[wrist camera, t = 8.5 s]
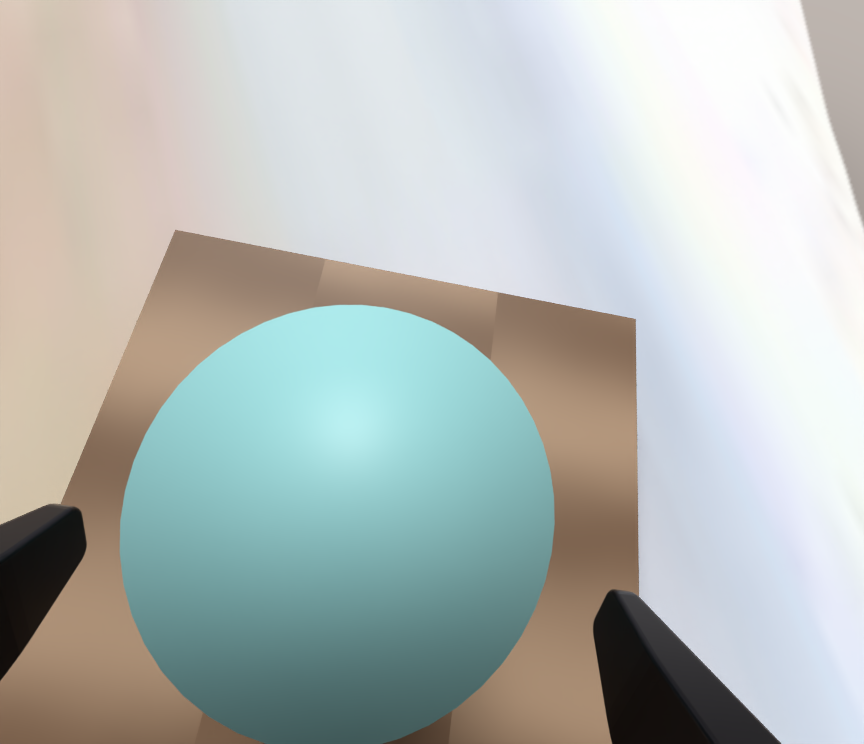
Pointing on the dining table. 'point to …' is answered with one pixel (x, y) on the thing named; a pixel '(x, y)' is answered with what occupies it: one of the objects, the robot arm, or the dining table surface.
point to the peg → (337, 527)
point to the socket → (317, 287)
